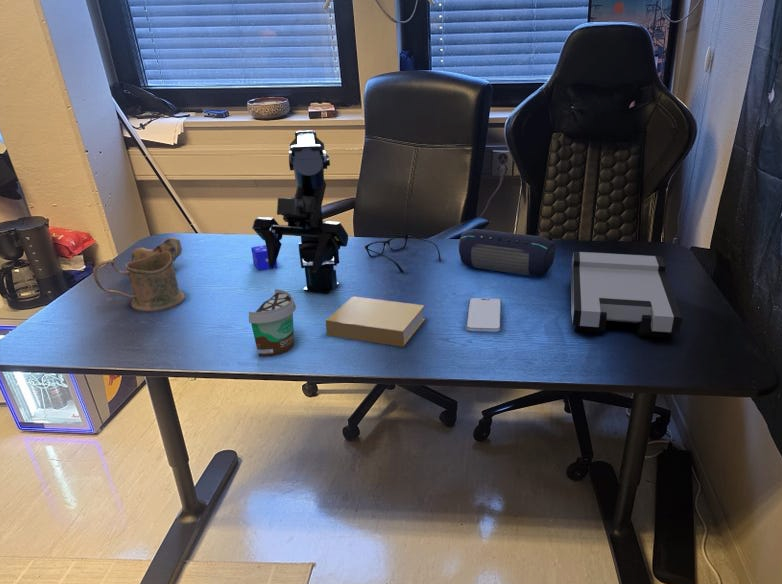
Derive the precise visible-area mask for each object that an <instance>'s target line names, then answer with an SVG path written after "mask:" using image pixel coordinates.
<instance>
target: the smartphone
mask: <svg viewBox="0 0 782 584" xmlns="http://www.w3.org/2000/svg"><path fill="white" fill-rule="evenodd" d="M467 307H468V309H467V317H466V324H465V327H466V328H465V329H466V331H469V332H485V333H486V332H487V333H488V332H489V333H490V332H491V333H499V332H500V331H501V317H502V300H501V299H500V298H489V297H471V298H470V299H469V300H468V306H467Z"/></svg>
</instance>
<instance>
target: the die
mask: <svg viewBox="0 0 782 584" xmlns="http://www.w3.org/2000/svg"><path fill="white" fill-rule="evenodd" d="M250 249H251V255H252V262H253V266H254V267H255V269H256V270H257V271H258V272H261V271H267V270H272V269H271V268H270V267H269V262H268V254H267V247H266V244H264V245H257V246H252V247H250ZM277 260H278V259H277ZM277 260H276V264H275V266H274V268H273V269H278V262H277Z"/></svg>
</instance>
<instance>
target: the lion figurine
mask: <svg viewBox="0 0 782 584" xmlns="http://www.w3.org/2000/svg"><path fill="white" fill-rule="evenodd" d="M166 251H167V252H169V253H170V254H171V257H172V262H173V263H174V262H176V260H177V258H179V257H180V256H181V254H182V252H183V247H182V244H181V241H180V239H178V238H176V237H175V236H174V237H169V238H168V237H167V239H165V240H164V241H163V242H162V243H160V244H157V246H156V247H155V248H153V249H151V248H144V247H137V248H135V249H133V250H132V251H131V253H130V262H134V261H137V260H140V259H143V258H146V257H148V256H151V255H153V254H157V253H161V252H166Z"/></svg>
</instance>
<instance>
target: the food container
mask: <svg viewBox="0 0 782 584" xmlns="http://www.w3.org/2000/svg"><path fill="white" fill-rule="evenodd" d="M296 309H297V305H296V303H295V300H294V297H292V295H291V293H290V292H288V291H285V290H283V289H277V288H274V295H272V297H270V298H269V299H267V300H265V301H263V302H262V303H261V305H260V306H259V307H258V308H257V310H255V311H249V312H248V324H250V325H251V328H252V329H251V330H252V333H253V338H254V341H255V342H254V343H255V346H256V351H257V354H258V357H261V358H262V357H263V358H267V357H276V356H280V355H283V354H286V353H288V352H289V351H291V350H292V349H293V348H294V346H295V330H294V312H295V311H296Z"/></svg>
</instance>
